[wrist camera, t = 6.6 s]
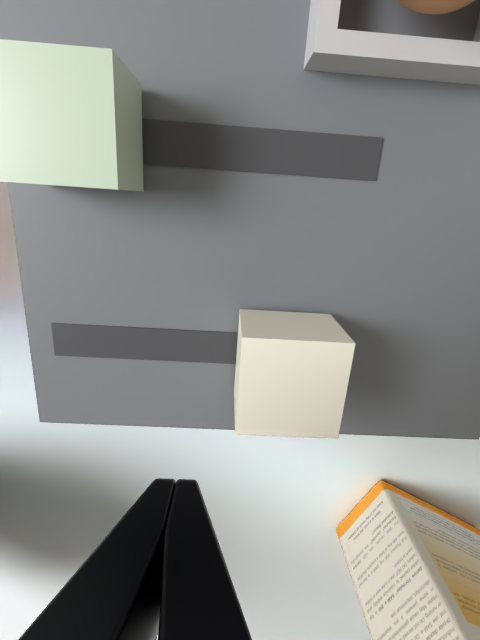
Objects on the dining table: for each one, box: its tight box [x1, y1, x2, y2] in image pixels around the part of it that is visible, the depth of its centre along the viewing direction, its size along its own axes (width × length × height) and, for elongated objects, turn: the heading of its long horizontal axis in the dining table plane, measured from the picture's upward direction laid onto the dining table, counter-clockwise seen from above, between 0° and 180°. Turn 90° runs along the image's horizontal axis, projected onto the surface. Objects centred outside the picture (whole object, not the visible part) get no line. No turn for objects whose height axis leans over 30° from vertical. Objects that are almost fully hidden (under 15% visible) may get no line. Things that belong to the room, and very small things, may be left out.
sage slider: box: [0, 39, 143, 191], centre depth 10 cm, size 3×4×3 cm
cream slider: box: [234, 309, 355, 439], centre depth 13 cm, size 4×4×3 cm
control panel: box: [0, 0, 480, 439], centre depth 14 cm, size 20×20×4 cm
